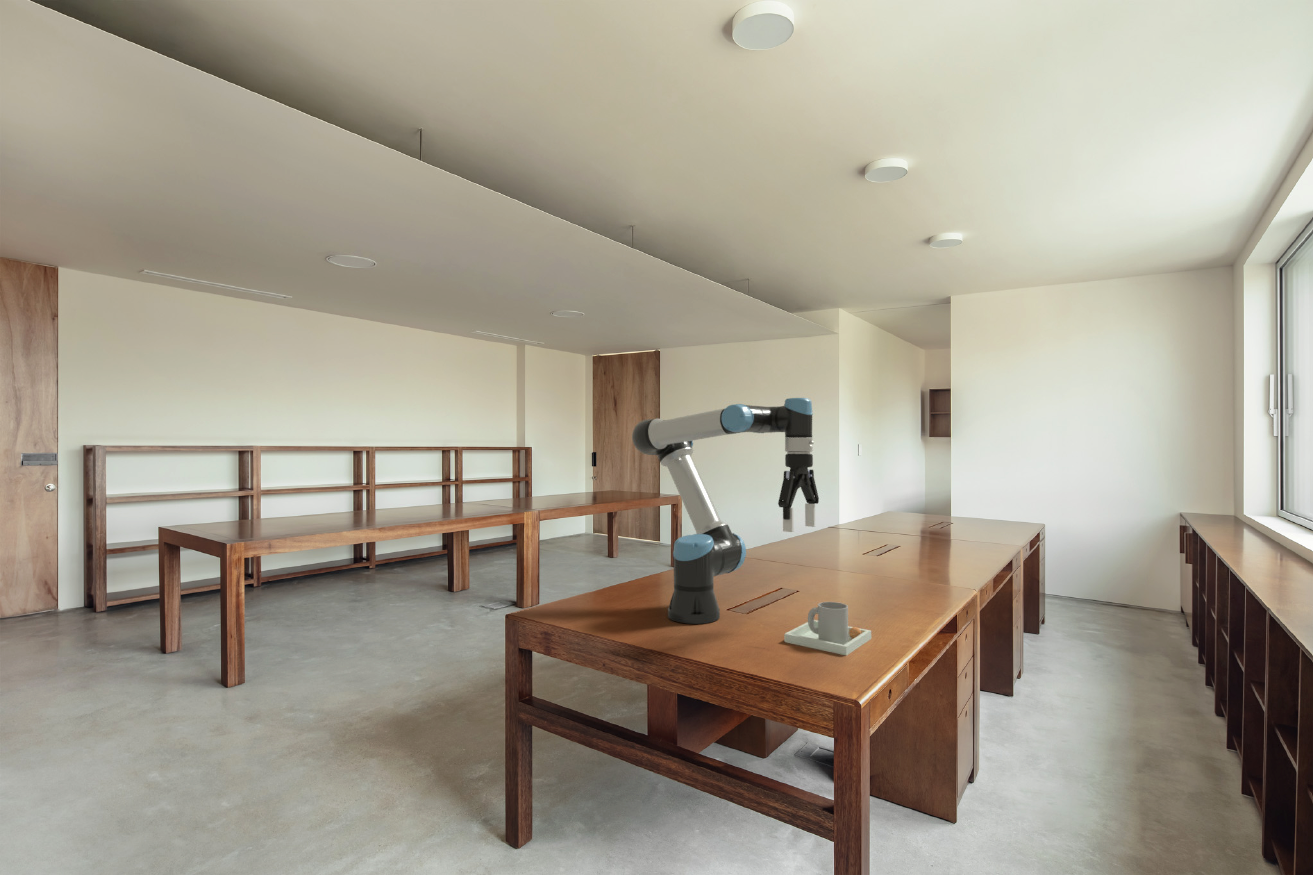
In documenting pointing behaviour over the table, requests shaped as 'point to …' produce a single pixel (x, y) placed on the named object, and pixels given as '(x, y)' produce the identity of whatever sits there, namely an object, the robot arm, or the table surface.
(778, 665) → the table surface
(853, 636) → the ball
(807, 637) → the tray
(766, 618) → the table surface
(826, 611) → the cup
